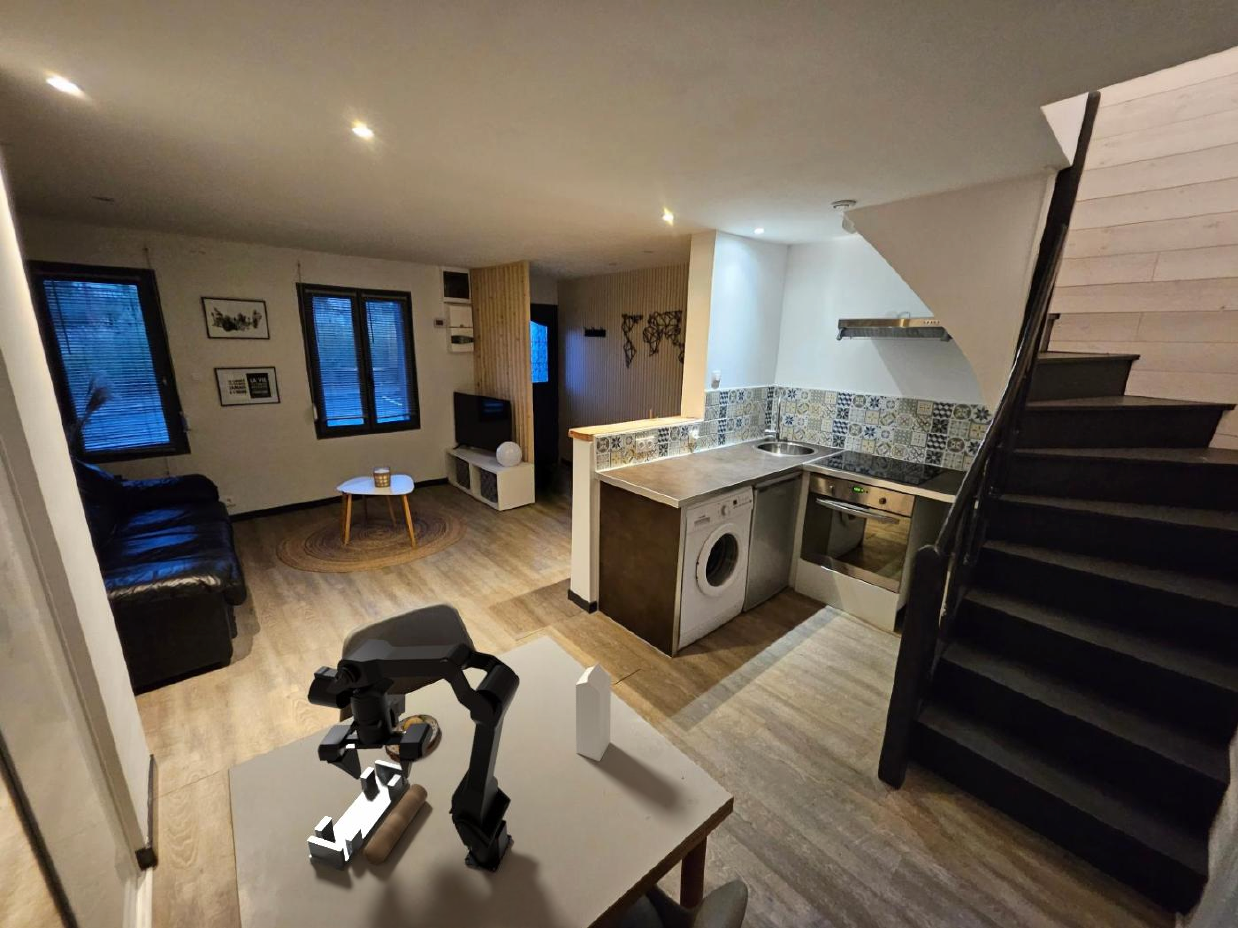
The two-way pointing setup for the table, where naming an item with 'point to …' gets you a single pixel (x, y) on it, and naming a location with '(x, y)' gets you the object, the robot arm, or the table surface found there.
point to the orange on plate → (404, 726)
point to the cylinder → (395, 825)
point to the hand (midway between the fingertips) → (383, 776)
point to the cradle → (357, 817)
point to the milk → (593, 712)
